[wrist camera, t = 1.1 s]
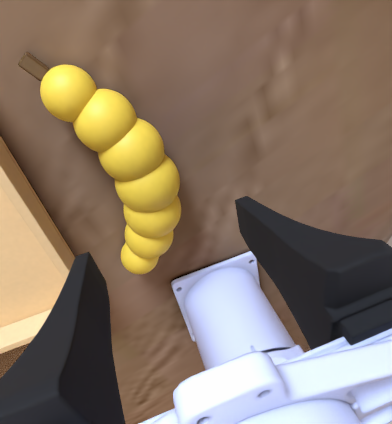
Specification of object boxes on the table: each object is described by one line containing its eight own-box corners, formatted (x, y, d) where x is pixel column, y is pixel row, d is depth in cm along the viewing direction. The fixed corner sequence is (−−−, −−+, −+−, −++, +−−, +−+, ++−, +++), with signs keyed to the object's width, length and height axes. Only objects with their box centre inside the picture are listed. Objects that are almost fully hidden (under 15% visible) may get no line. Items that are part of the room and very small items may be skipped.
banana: (193, 239, 27) (209, 272, 23) (123, 264, 26) (129, 303, 23) (132, 21, 17) (144, 28, 14) (18, 52, 16) (4, 66, 13)
